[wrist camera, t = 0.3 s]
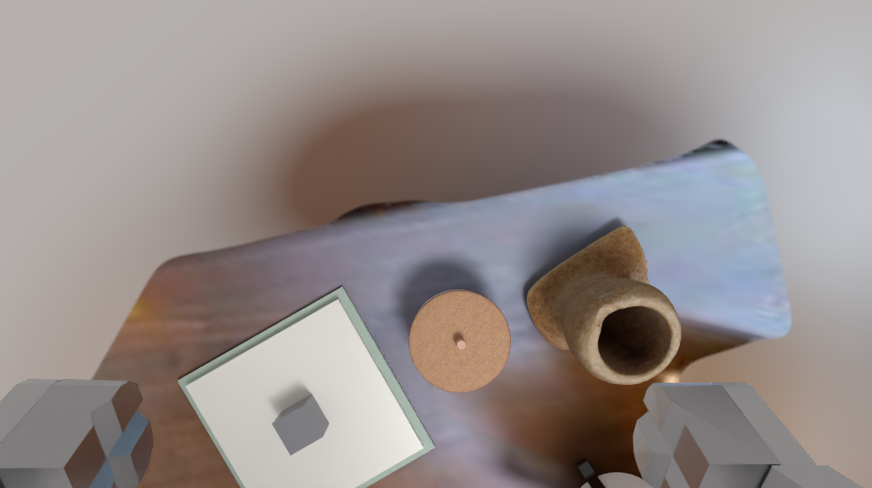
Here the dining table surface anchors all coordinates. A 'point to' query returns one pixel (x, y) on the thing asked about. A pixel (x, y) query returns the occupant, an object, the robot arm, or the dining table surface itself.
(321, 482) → the lid
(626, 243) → the brown boot
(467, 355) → the lidded jar
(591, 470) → the coffee press
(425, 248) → the dining table surface
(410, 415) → the mat
